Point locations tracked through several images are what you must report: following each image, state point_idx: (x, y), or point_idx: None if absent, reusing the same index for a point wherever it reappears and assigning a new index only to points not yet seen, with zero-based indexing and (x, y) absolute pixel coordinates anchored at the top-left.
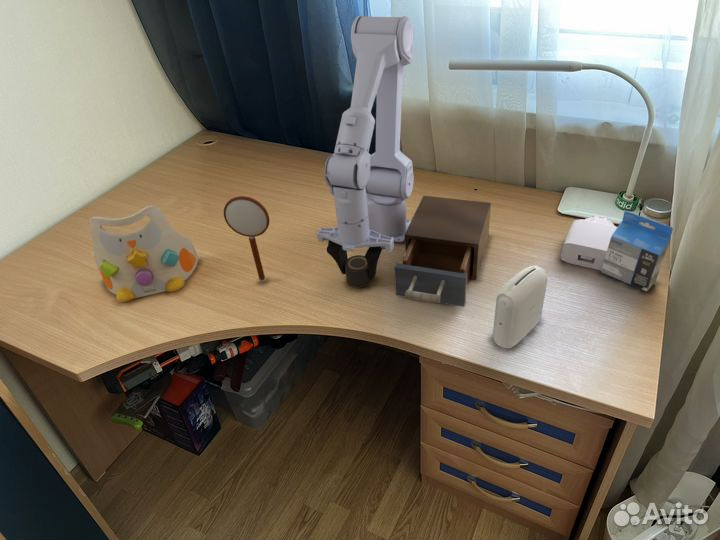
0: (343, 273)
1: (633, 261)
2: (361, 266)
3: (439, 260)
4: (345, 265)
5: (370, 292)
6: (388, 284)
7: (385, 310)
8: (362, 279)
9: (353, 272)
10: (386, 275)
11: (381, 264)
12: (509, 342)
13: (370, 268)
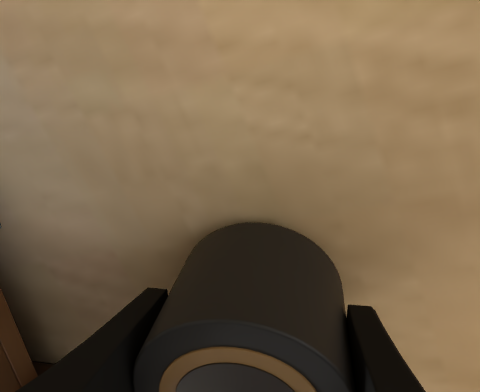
0: (359, 311)
1: None
2: (187, 378)
3: None
4: (337, 382)
5: (162, 205)
6: (106, 276)
7: (4, 75)
8: (192, 271)
9: (233, 312)
10: None
11: None
12: None
13: (82, 362)
